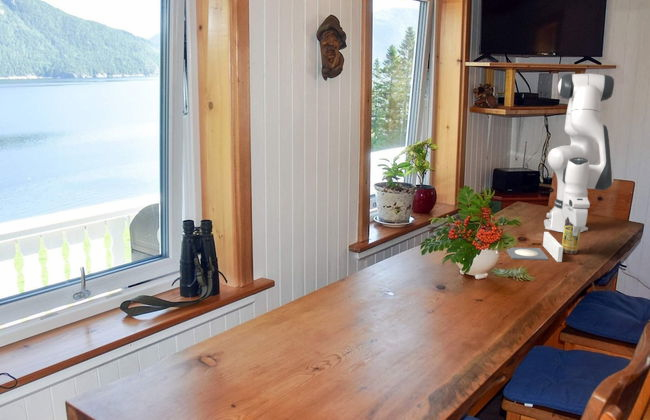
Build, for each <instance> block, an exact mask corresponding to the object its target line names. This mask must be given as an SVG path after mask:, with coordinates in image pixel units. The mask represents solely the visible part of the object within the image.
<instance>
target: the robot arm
mask: <svg viewBox="0 0 650 420" xmlns="http://www.w3.org/2000/svg"><path fill="white" fill-rule="evenodd" d="M615 89H616V84H615V79H614V77H613V76H611V75H608V74H599V73H598V74H597V73H590V72H589V73H574V74H572V73H566V74H563V75H562V76H561V77H560V79H559V81H558V84H557V91H558V95H559V96H560V98H563V99H566V100H568V103H567V109H566V116H565V122H564V132H565V134H567V135H568V136H569V138H570V145H559V146H556V147H554V148H552V149H550V150H549V151H548V154H547V164H548V165H549V167H550V168H551V169H552V170H553V171H554V173H555V176H556V181H557V186H556V187H557V188H556V189H557V191H556V198H555V199H554V205H553V207H552V209H550V210H549V212H546V218H547V219H544V220H543V224H544V229H545V230H549V231H554V232H559V233H563V232H564V226H565V220H566V219H567V217H568V218H569V221H570V223H571V224H573V227H574V228H573V231H572V235H573V236H577V235H578V231H579V228H581V230H580V233H583V232H585V231H586V232H587V231H588V230H589V227H587V226H586V225H587V220H588V215H589V213H588V212H589V210H588V209H590V205H591V202H590V200H589V198H588V194H589V192H588V189H591V190H592V189H593V190H597V191H603V192H604V191H606V190H608V189H609V188H611V186H613V183H614V178H615V177H614V171H613V167H612V157H611V156H612V155H611V146H610V145H611V143H610V136H609V130H608V128H607V126H606V125H605V124H603V122H602V120H601V108H602V107H601V106H602V103H601V102H603V101H604V102H605V101H607V100H609V99H611V97H612V95H614V92H615ZM593 140H594V141H595V142H596V143H597V144H598V148H597V147H596V146H595V144H594V142H593ZM598 162H600V163H599V164H597V163H598Z"/></svg>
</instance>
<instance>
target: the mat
mask: <svg viewBox="0 0 650 420" xmlns="http://www.w3.org/2000/svg"><path fill="white" fill-rule="evenodd" d="M511 247H512V248H510V249H507V250H506V249H505V251H506V253H508V255H509V257H510V258H511V259H512V260H530V261H531V260H532V261H533V260H534V261H550V258H548V256H547V255H546V253H545V252H544V251H543V250H542V248H541V247H517V246H516V247H513V246H511Z"/></svg>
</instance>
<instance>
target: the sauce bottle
mask: <svg viewBox="0 0 650 420" xmlns="http://www.w3.org/2000/svg"><path fill="white" fill-rule="evenodd" d="M573 228H574V227H573V224H571V223H570V221H569V218H568V217H567V219H566V220H565V226H564V232H562V233H563V234H562V241H561V246H562V247H563V253H564V254H567V255H575V254H577V253H578V249H579V244H580V238H581V237H580V236H581V232H580V230H581V228H579V231H578V235H577V236H573V235H572V231H573ZM563 253H562V254H563Z"/></svg>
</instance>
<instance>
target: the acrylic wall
mask: <svg viewBox="0 0 650 420" xmlns="http://www.w3.org/2000/svg"><path fill="white" fill-rule="evenodd" d="M542 246H543V247H544V249H545V250H546V251H547V252H548V253H549V254H550V255H551V256H552V258H553V259H554V260H555V261H556V262H557V263H562V261H563V247H562V244H561V243H560V242H558V241H557V239H556V238H555V237H554V236H553V235H552V234H551V233H550V232H549V231H543V241H542Z"/></svg>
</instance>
